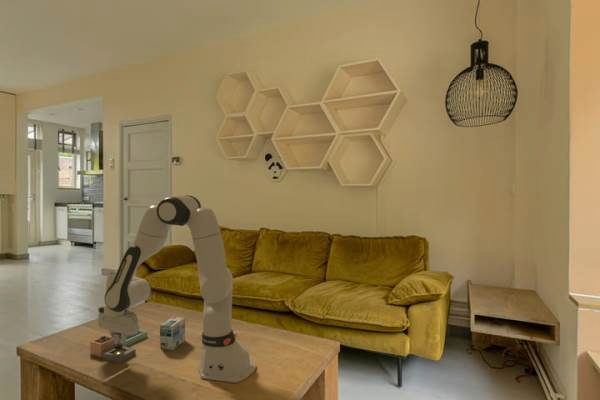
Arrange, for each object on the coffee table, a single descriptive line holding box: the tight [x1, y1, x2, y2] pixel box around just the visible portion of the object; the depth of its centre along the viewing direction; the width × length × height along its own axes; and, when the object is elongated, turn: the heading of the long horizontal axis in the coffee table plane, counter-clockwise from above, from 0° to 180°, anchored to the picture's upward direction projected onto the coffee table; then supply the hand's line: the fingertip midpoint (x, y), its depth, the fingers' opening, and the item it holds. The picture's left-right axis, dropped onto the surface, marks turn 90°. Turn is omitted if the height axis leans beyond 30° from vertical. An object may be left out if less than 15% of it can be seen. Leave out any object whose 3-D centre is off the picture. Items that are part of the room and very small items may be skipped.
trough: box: [123, 329, 148, 347], centre depth 154 cm, size 8×14×3 cm, turn 157°
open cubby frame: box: [89, 335, 114, 358], centre depth 143 cm, size 7×7×6 cm
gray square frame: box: [101, 346, 137, 364], centre depth 139 cm, size 10×8×3 cm
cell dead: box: [99, 335, 108, 343], centre depth 143 cm, size 3×3×6 cm
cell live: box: [114, 332, 123, 349], centre depth 139 cm, size 3×3×6 cm
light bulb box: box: [159, 316, 186, 351], centre depth 152 cm, size 11×7×11 cm, turn 168°
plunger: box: [113, 350, 125, 355], centre depth 139 cm, size 5×5×1 cm
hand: (118, 341), depth 139 cm, fingers closed on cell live, 3 cm apart
